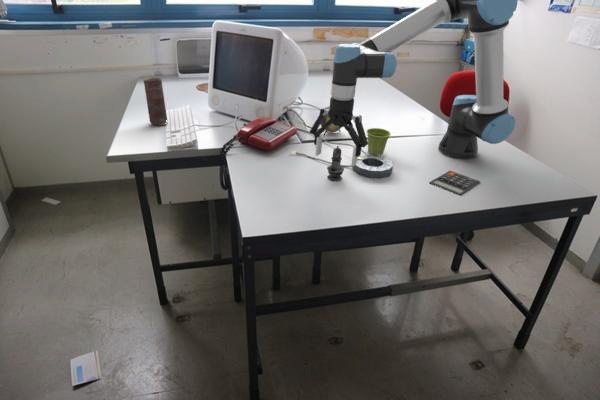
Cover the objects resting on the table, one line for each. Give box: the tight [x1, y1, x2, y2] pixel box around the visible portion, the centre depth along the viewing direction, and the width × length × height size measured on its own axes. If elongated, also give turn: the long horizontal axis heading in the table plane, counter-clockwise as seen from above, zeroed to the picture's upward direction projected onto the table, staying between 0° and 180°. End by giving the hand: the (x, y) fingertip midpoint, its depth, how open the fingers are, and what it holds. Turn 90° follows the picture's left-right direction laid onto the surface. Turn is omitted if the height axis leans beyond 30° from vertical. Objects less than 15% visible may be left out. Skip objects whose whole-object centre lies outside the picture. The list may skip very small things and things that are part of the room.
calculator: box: [429, 170, 481, 196], centre depth 143 cm, size 12×1×15 cm
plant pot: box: [365, 127, 391, 156], centre depth 161 cm, size 9×9×9 cm
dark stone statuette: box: [326, 145, 345, 182], centre depth 139 cm, size 6×6×12 cm
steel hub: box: [351, 154, 394, 180], centre depth 148 cm, size 14×14×3 cm
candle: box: [143, 76, 168, 126], centre depth 176 cm, size 8×7×20 cm
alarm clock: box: [320, 105, 342, 136], centre depth 177 cm, size 11×5×16 cm, turn 123°
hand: (335, 159), depth 138 cm, fingers open, 13 cm apart
